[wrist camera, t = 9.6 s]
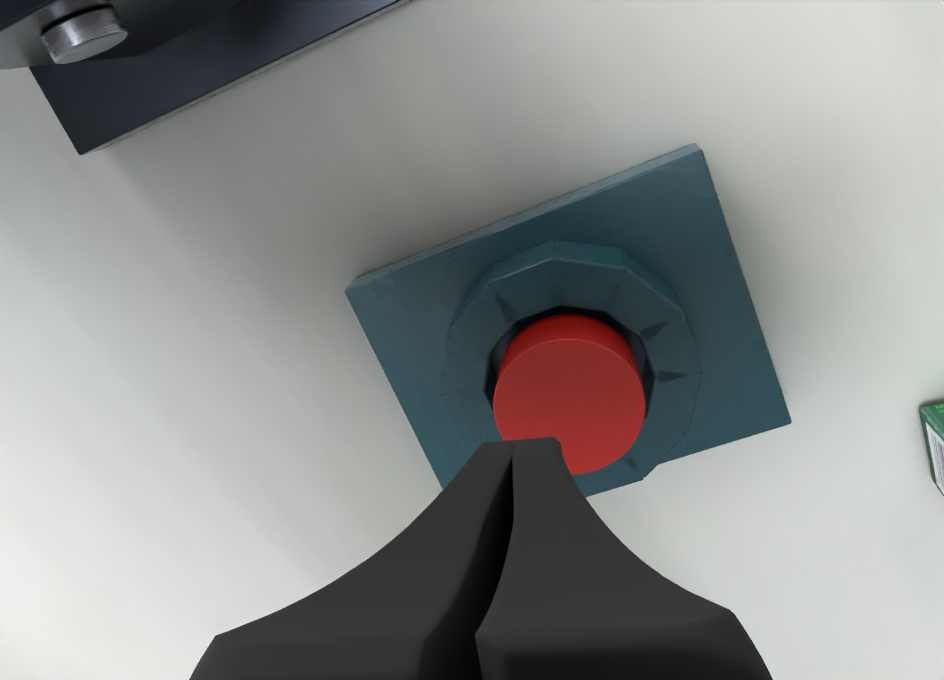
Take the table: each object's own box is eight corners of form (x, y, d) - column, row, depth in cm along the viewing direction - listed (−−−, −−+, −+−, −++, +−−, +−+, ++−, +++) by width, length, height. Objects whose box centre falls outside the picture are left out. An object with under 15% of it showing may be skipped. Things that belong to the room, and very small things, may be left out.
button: (529, 457, 22) (526, 492, 20) (476, 341, 21) (469, 368, 19) (658, 416, 21) (666, 449, 19) (611, 293, 20) (615, 316, 18)
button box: (464, 503, 26) (452, 562, 23) (354, 278, 23) (325, 313, 21) (782, 404, 23) (810, 457, 21) (694, 142, 21) (714, 161, 18)
